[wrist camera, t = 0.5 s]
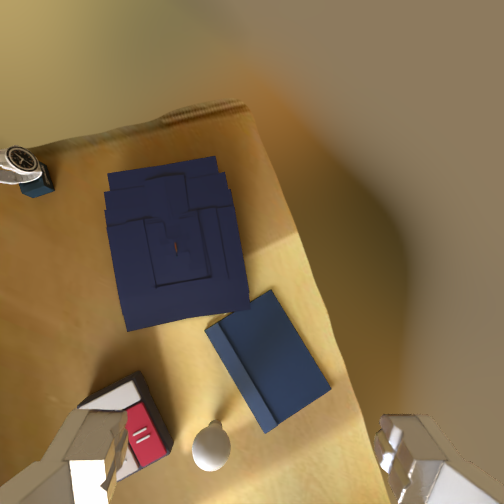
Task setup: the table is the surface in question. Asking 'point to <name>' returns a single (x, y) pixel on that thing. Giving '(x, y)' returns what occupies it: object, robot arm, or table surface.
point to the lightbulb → (211, 447)
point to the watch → (25, 171)
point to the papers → (175, 243)
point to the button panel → (134, 421)
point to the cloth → (268, 361)
